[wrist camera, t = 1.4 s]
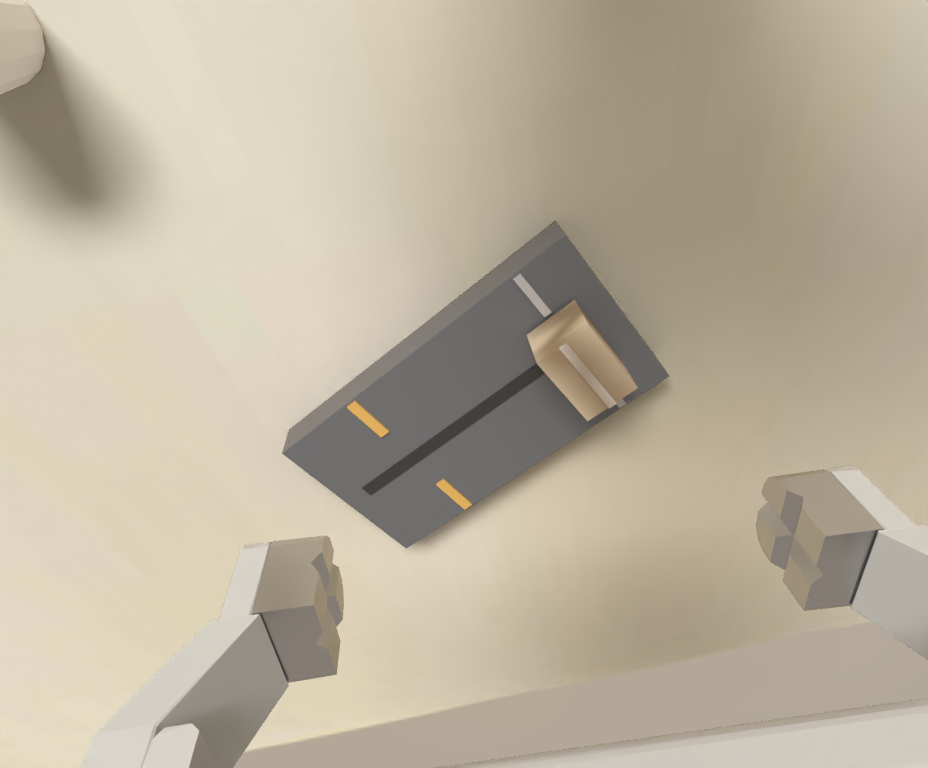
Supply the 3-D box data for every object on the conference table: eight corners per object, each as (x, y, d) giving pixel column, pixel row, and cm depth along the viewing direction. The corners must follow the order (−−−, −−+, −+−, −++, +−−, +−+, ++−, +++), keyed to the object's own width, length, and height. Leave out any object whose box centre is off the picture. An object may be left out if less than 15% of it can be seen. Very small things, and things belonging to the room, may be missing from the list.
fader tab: (574, 299, 41) (590, 327, 37) (620, 358, 43) (638, 389, 40) (526, 334, 42) (537, 364, 38) (574, 389, 45) (588, 422, 41)
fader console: (555, 220, 41) (565, 235, 38) (655, 356, 47) (670, 377, 45) (288, 430, 48) (281, 455, 46) (406, 523, 55) (406, 550, 52)
